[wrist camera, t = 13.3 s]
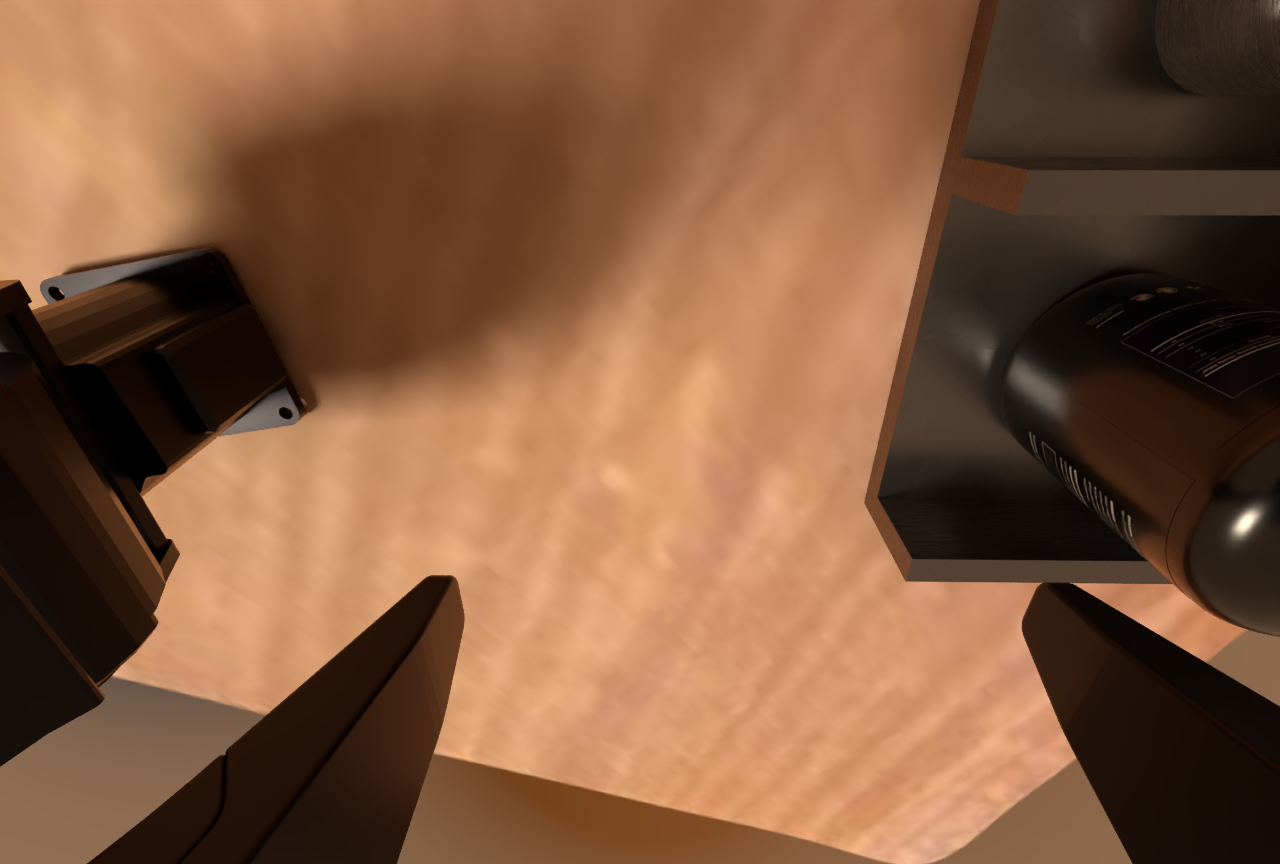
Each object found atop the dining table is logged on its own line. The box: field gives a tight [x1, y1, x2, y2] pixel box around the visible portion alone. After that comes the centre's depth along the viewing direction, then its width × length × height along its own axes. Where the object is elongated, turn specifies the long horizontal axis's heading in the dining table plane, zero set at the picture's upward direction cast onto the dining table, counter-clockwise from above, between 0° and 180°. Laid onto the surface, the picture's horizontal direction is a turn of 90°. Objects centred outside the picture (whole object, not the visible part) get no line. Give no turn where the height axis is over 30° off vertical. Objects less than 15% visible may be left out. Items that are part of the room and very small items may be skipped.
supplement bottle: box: [1000, 273, 1280, 637], centre depth 15 cm, size 7×7×12 cm
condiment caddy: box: [864, 0, 1280, 584], centre depth 15 cm, size 13×22×8 cm, turn 0°
